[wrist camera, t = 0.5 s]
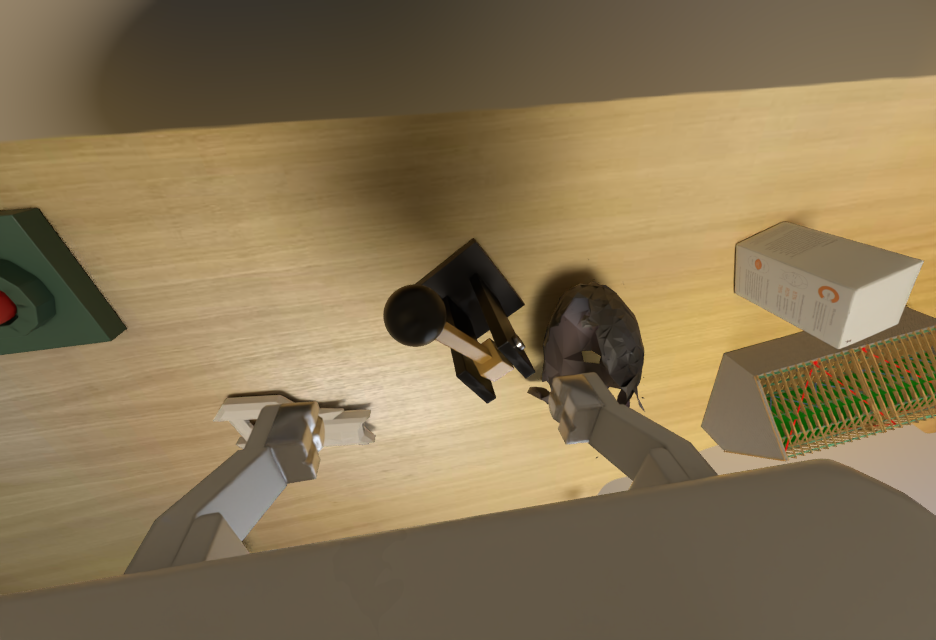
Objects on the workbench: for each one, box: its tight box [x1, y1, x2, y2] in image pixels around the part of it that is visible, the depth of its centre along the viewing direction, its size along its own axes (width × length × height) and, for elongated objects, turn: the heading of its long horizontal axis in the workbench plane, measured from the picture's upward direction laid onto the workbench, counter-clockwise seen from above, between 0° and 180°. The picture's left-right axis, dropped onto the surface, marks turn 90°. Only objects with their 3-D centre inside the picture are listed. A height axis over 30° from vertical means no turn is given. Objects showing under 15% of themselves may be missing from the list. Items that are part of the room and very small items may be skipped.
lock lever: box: [383, 284, 514, 382], centre depth 24 cm, size 14×4×4 cm, turn 37°
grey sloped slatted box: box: [701, 307, 936, 461], centre depth 52 cm, size 30×19×13 cm, turn 102°
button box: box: [0, 208, 126, 355], centre depth 28 cm, size 12×10×4 cm
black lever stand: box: [416, 238, 535, 403], centre depth 32 cm, size 10×9×14 cm
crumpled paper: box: [527, 279, 644, 458], centre depth 37 cm, size 14×15×20 cm
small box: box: [735, 222, 924, 349], centre depth 37 cm, size 8×6×13 cm
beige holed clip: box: [213, 395, 376, 449], centre depth 42 cm, size 18×4×10 cm
